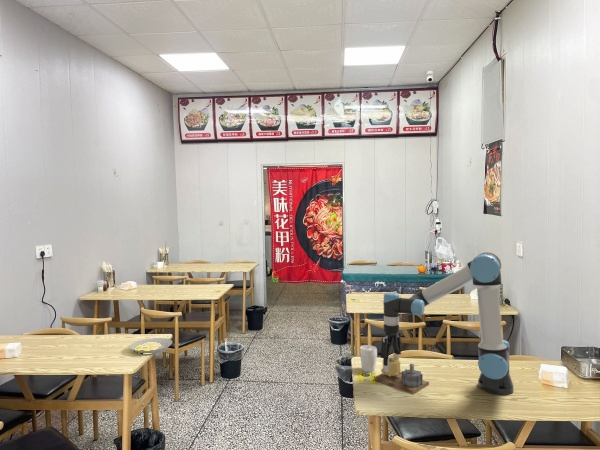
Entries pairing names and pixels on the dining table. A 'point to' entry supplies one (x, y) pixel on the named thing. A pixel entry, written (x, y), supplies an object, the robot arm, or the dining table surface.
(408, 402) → the dining table surface
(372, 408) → the dining table surface
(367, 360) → the cup
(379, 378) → the gear board
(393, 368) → the ochre gear
